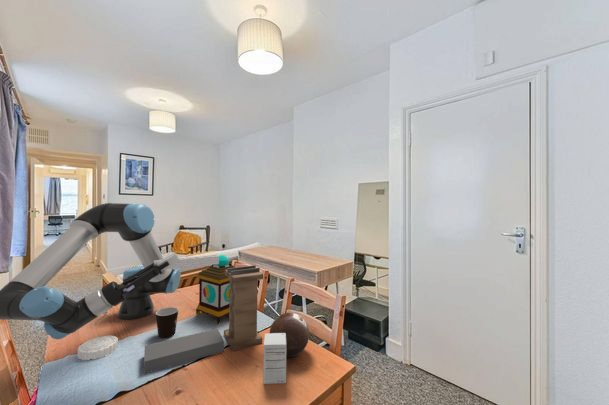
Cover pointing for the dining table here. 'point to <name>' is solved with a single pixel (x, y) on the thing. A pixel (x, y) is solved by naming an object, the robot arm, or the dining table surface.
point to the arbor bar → (192, 262)
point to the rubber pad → (182, 350)
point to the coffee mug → (166, 322)
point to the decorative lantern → (214, 289)
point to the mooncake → (97, 347)
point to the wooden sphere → (292, 332)
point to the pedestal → (243, 307)
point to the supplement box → (274, 358)
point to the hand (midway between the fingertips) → (176, 256)
